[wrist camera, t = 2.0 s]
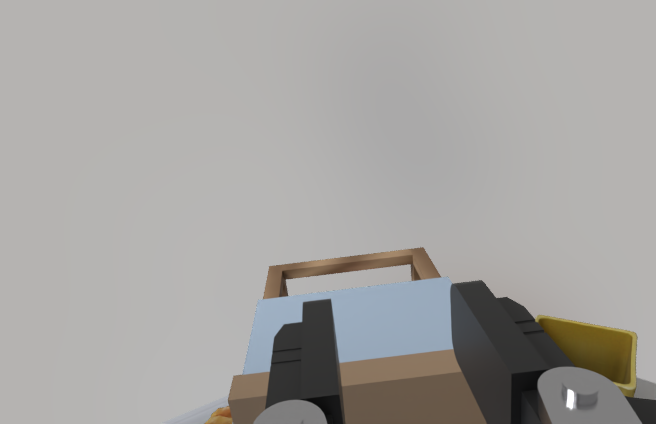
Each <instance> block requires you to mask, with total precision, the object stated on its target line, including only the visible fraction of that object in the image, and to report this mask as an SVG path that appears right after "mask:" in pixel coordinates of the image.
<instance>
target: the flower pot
mask: <svg viewBox="0 0 656 424" xmlns="http://www.w3.org/2000/svg"><path fill="white" fill-rule="evenodd" d="M535 322H538V323H539V325H540V326H541V327H542V328H543V329H544V332H545V333H547V334H548V335H549V336H550V337H551V338H552V340H553V341H554V342H555V343H556V344H557V345H558V347H559V348H560V349H561V350H562V351H563V352H564V354H565V355H566V356H567V357H568V358H569V359H570V361H571V362H572V363H573V364H574V365H575V366H576V367H577V368H583V369H587V370H590V371H593V372H596V373H598V374H600V375H602V376H604V377H606V378H608V379H609V380H610V381H612V382H613V383H614V384H615V385H616V386H617V387H618V388H619V389H620V390H621V392H622V393H623V395H624V396H627V397H634V393H635V390H636V350H637V335H636V333H635V332H631V331H627V330H622V329H616V328H610V327H605V326H599V325H593V324H588V323H582V322H577V321H572V320H566V319H561V318H555V317H550V316H544V315H538V316H537V317H536V318H535Z"/></svg>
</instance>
